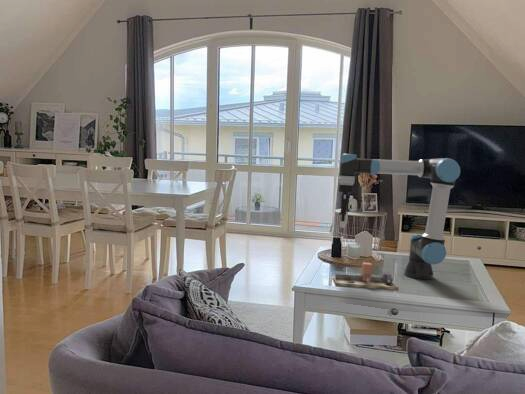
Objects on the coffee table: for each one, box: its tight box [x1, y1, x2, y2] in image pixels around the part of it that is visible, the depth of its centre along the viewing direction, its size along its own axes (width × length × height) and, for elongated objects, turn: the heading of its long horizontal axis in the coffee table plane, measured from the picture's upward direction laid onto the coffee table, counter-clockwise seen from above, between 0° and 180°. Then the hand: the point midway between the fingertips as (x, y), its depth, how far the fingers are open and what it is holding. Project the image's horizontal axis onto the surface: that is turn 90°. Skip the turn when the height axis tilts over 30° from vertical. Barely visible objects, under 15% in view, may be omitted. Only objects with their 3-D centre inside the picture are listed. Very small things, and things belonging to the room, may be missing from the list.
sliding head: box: [360, 261, 373, 282], centre depth 238 cm, size 4×8×8 cm, turn 179°
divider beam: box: [334, 272, 394, 284], centre depth 238 cm, size 28×7×6 cm, turn 89°
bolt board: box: [331, 276, 399, 291], centre depth 238 cm, size 30×12×1 cm, turn 89°
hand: (343, 225), depth 248 cm, fingers open, 13 cm apart
